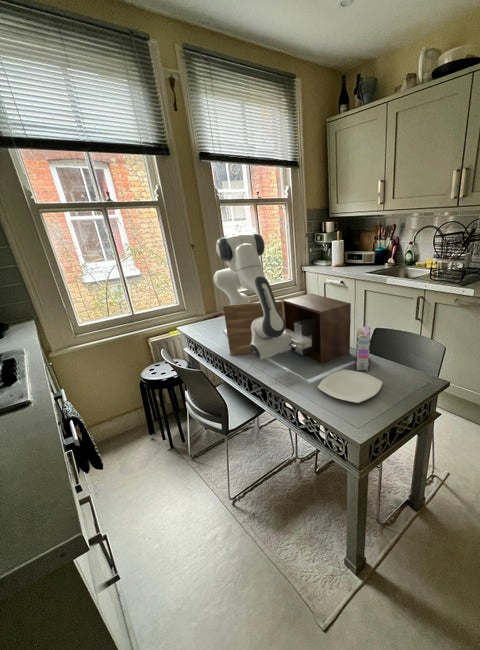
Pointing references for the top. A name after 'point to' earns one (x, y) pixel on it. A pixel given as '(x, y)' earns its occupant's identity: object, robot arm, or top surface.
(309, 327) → the grey box with handle
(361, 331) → the candy box
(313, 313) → the cupboard
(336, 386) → the plate
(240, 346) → the cupboard door
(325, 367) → the top surface
